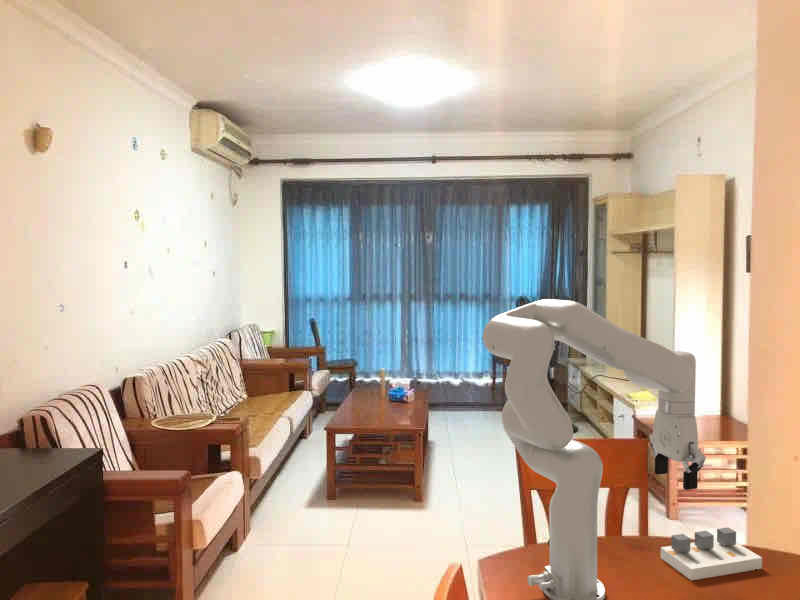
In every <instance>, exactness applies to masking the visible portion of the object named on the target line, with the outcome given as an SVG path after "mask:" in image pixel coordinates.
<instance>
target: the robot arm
mask: <svg viewBox="0 0 800 600" xmlns="http://www.w3.org/2000/svg"><path fill="white" fill-rule="evenodd" d="M482 340H483V344H484V346H485V348H486V349H487V351H488V352H489V353H491V354H492V355H494V356H496V357H500V358H503V359H507V360H510V363H509V366H508V369H507V372H506V376H505V381H504V393H505V395H506V398H507V401H506V402H505V403H504V406H503V409H502V411H501V422H502V426H503V429H504V432H505V433H506V435H507V437H508V438H509V440H510V441H511V443H512V444H513V447H515V449H516V450H517V452H518V453H519V455H520V456H521V458H522V459H523V461H524V462H525V464H526V465H527V466H528V467H529V468H530V469H531V470H532V471H533V472H535V473H537V474H539V475H540V476H543V477H545V478H547V480H550V481H552V482H554V483H555V485H556V488H555V492H553V494H552V496H551V499H550V501H549V507H548V508H549V510H548V512H549V513H548V517H549V521H548V522H549V525H548V526H549V530H548V532H549V538H550V548H549V565H546V566H544V571H543V572H541V574H533V575H528V576H527V583H528V585H529V587H532V586H538V587H539V590H540V591H543V593H544V594H545V595H546V596H547V597H548V598H549V599H550V600H604V599H605V598H606V588H605V586H604V584H603V582H602V581H600V580H599V579H598V505H599V504H598V502H599V492H600V487H601V483H602V482H601V481H602V477H603V472H604V470H603V469H604V466H603V461H602V458H601V456H600V455H599V454H598V452H597V451H595V449H593V448H592V447H590V445H588V444H586V443H583V442H581V441H578V440H576V439H573V436H574V427H573V423H572V421H571V418H570V416H569V415H568V413H567V411H566V410H565V408H564V407H563V405H562V403H561V401H560V400H559V399H558V396H557V395H556V394H555V393H556V392H554V390H553V389H552V386H551V385H550V382H549V380H548V369H549V366H550V362H551V358H552V356H553V353H554V350H555V341H558V342H561V343H563V344H565V345H567V346H569V347H570V348H572V349H573V350H576V351H578V352H580V353H581V354H583V355H585V356H586V357H587V358H588V357H589V359H591V360H593V361H595V362H597V363H600V364H601V365H603V366H606V367H608V368H613V369H616V370H619V371H623V374H624V376H625V377H626V379H627V380H628V381H629V382H630V383H632V384H634V385H636V386H639V387H642V388H648V389H653V390H656V391H658V398H657V399H658V401H657V402H658V405H657V409H656V411H655V416H654V421H653V427H652V428H653V429H652V433H650V434H649V436H648V437H649V441H650V443H651V444H650V446H651V449H652V455H653V457H654V475H666V474H668V473H669V459H670V460H673V461H675V462H679V463H680V462H681V463H682V466H683V467H684V470H683V472H682V473H683V474H682V475H683V477H682V479H683V480H682V488H683V490H685V491H690V490H697V489H698V484H699V483H698V478H699V477H698V475H699V472H700V471H701V469H702V468H703V467H704V463H705V461H706V455H705V454H704V453H703V452H702V451H701V449H699V435H698V424H697V417H696V378H697V377H696V375H697V373H696V371H697V370H696V369H697V367H696V366H697V365H696V364H697V360H696V356H695V355H694V354H692V353H691V352H688V351H680V350H671V349H669V348H667V347H665V346H664V345H661V344H659V343H657V342H654V341H652V340H649V339H647V338H646V337H645V338H644V337H643V336H640V335H638V334H635V333H633V332H632V331H629V330H626V329H624V328H622V327H620V326H618V325H616V324H614V323H613V322H612V321H610V320H608V319H607V318H605V317H603V316H602V315H600V314H599V313H597V312H596V311H594V310H592V309H590V308H589V307H588V306H586V305H584V304H582V303H579V302H577V301H574V300H564V299H554V298H552V299H551V298H546V299H545V298H544V299H540V300H537V301H533V302H531V303H528V304H527V303H526V304H524V305H522V306H519V307H516V308H515V309H511V310H508V311H506V312H503V313H500V314H498V315H496V316H494V317H493V318H491V319H489V321H488V322H487V323H486V325H485V326H484V329H483V332H482ZM689 462H690V464H689ZM549 538H548V539H549Z"/></svg>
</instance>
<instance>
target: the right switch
mask: <svg viewBox="0 0 800 600" xmlns="http://www.w3.org/2000/svg"><path fill="white" fill-rule="evenodd" d="M716 539H717V542H718V543H720V544H722V545H723V546H731V545H736V543H737V531H735V530H733V528H730V527H721V528H717V529H716Z"/></svg>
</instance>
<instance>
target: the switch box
mask: <svg viewBox="0 0 800 600" xmlns="http://www.w3.org/2000/svg"><path fill="white" fill-rule="evenodd" d="M660 558H661V559H662V560H663V561H664V562H665V563H666V564H668V565H670V567H672V568H674V569H675V570H676V571H678V572H679V573H680V574H682V575H684V577H685V578H687V579H688V580H690V581H695V580H701V579H702V580H703V579H706V578H707V579H708V578H714V577H715V578H716V577H719V576H727V575H731V574H738V573H743V572H744V573H745V572H751V571H755V569H757V570H762V569H763V557H762V556H760V555H758V554H756V553H755V552H753V551H752V550H750V549H749V548H747V547H744V546H743V545H741V544H740V543H737V542H736V545H731V546H723V545H722V544H720V543H718V542H717V538H715V539H714V546H713V548H711V549H705V550H701V549H700V548H698V547H697V546H695V541H694V542H690V552H684V553H678V552H676V551H675V550H673V549H672V548H671V545H669V546H668V545H667V546H661V547H660ZM750 570H751V571H750Z"/></svg>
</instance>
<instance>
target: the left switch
mask: <svg viewBox="0 0 800 600" xmlns="http://www.w3.org/2000/svg"><path fill="white" fill-rule="evenodd" d="M690 543H691V537H688V536H687V535H686V534H684V533H680V534H679V533H678V534H673V535H671V545H670V546H671V548H672V549H673V550H675V551H676V552H678V553H684V552H690Z"/></svg>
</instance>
